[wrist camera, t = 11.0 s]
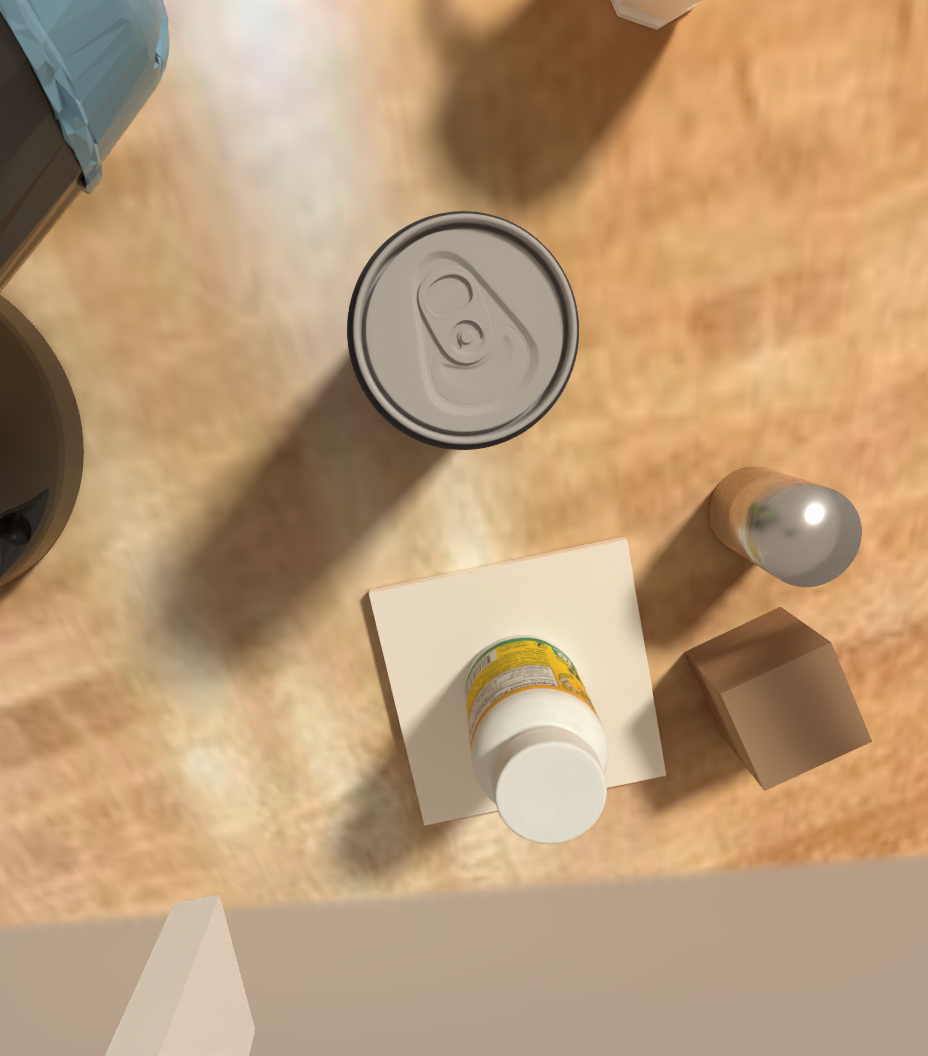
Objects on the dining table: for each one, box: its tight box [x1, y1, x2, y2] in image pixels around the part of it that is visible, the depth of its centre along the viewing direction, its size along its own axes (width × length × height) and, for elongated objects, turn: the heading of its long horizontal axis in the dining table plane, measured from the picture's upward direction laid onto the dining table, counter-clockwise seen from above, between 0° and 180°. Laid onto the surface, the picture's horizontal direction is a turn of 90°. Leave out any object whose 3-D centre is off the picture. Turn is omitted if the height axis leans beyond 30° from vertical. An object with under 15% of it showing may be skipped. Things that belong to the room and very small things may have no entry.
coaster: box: [369, 537, 666, 826], centre depth 38 cm, size 12×12×1 cm
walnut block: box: [685, 607, 872, 791], centre depth 36 cm, size 5×5×5 cm
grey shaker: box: [708, 467, 862, 587], centre depth 34 cm, size 4×4×6 cm
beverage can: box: [347, 211, 579, 450], centre depth 28 cm, size 6×6×15 cm
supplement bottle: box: [465, 635, 609, 844], centre depth 33 cm, size 5×5×10 cm
